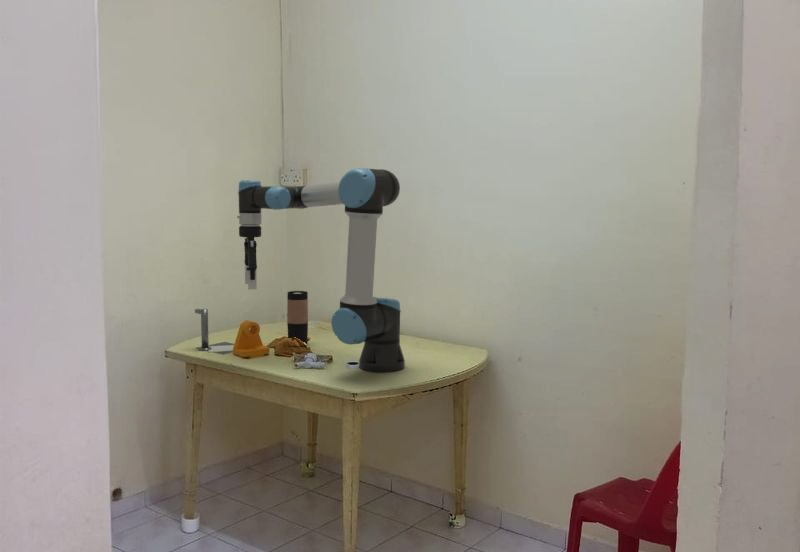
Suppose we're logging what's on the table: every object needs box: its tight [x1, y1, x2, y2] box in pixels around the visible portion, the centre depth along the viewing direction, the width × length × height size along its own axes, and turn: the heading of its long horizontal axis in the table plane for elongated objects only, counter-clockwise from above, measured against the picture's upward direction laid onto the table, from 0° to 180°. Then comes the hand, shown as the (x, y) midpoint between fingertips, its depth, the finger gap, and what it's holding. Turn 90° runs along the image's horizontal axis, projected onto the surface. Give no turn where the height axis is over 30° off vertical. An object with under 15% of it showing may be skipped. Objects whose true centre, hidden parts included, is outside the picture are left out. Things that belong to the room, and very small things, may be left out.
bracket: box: [232, 320, 270, 359], centre depth 250 cm, size 11×7×12 cm, turn 132°
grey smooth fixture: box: [194, 308, 212, 352], centre depth 257 cm, size 7×4×15 cm
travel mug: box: [286, 290, 309, 345], centre depth 268 cm, size 8×8×20 cm
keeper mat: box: [194, 341, 235, 355], centre depth 260 cm, size 16×17×1 cm
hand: (250, 286), depth 248 cm, fingers open, 13 cm apart
